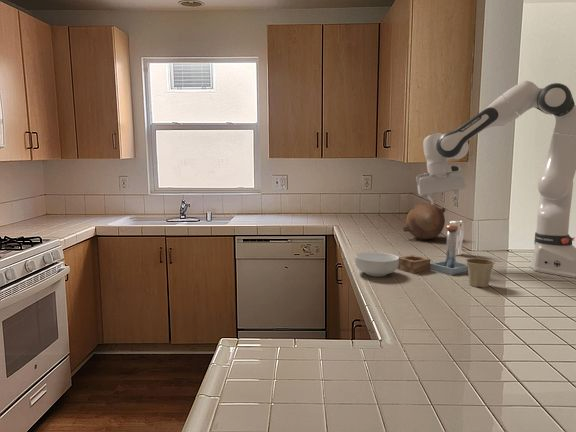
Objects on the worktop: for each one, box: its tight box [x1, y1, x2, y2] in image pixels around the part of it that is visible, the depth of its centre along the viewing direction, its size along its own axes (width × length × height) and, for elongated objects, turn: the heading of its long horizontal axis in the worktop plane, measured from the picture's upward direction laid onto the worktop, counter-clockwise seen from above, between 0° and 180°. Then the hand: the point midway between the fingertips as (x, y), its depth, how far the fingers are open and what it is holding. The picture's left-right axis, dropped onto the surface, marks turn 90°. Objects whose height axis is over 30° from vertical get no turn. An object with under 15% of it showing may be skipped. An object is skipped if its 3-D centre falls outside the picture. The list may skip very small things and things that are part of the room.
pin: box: [445, 224, 458, 268], centre depth 185 cm, size 5×5×17 cm
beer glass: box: [447, 220, 465, 256], centre depth 215 cm, size 7×7×15 cm
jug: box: [402, 202, 446, 240], centre depth 256 cm, size 20×20×30 cm
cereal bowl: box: [354, 251, 399, 277], centre depth 182 cm, size 17×17×7 cm
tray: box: [429, 260, 468, 277], centre depth 186 cm, size 11×11×2 cm
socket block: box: [396, 254, 431, 274], centre depth 188 cm, size 9×9×4 cm
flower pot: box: [465, 257, 496, 288], centre depth 166 cm, size 9×9×9 cm
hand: (444, 202), depth 201 cm, fingers open, 8 cm apart
